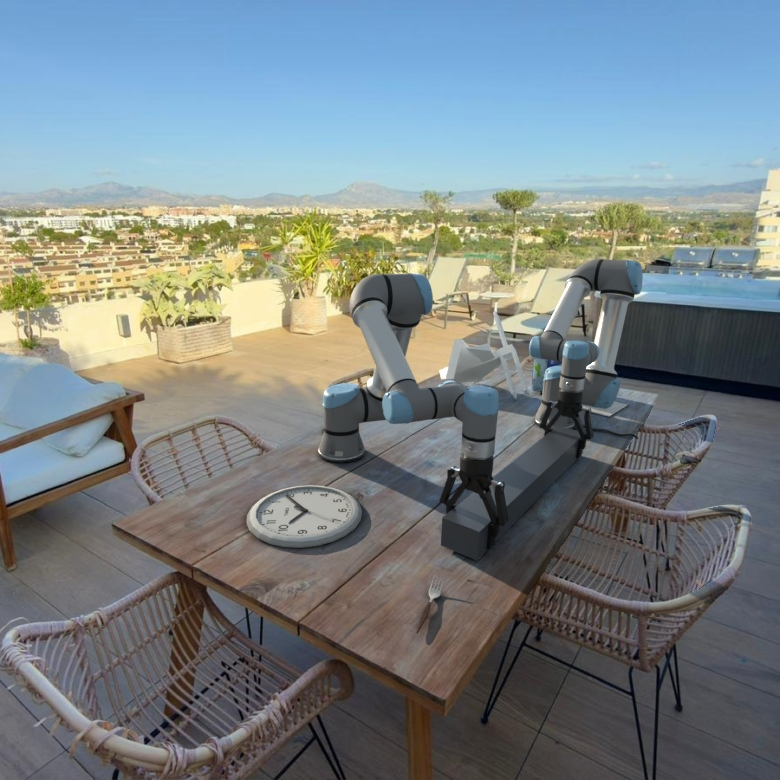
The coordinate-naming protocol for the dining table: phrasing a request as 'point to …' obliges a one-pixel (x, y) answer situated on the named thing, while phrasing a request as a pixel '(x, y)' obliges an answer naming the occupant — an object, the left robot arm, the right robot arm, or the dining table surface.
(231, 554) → the dining table surface
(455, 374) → the white plastic object
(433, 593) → the fork
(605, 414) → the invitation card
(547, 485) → the wide beam
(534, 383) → the lunch box
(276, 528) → the wall clock
